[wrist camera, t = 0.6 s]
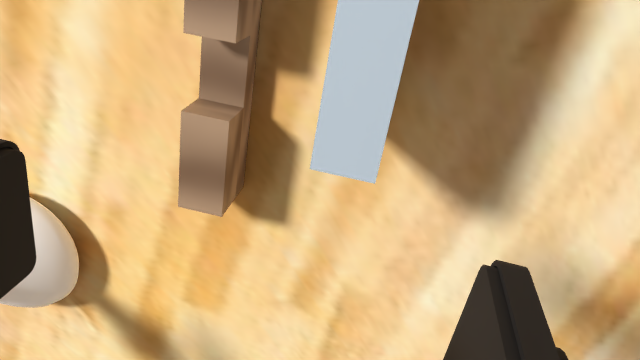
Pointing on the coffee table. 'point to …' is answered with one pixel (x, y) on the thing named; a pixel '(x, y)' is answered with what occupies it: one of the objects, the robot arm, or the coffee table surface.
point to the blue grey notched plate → (361, 85)
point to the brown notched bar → (218, 103)
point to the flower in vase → (47, 263)
